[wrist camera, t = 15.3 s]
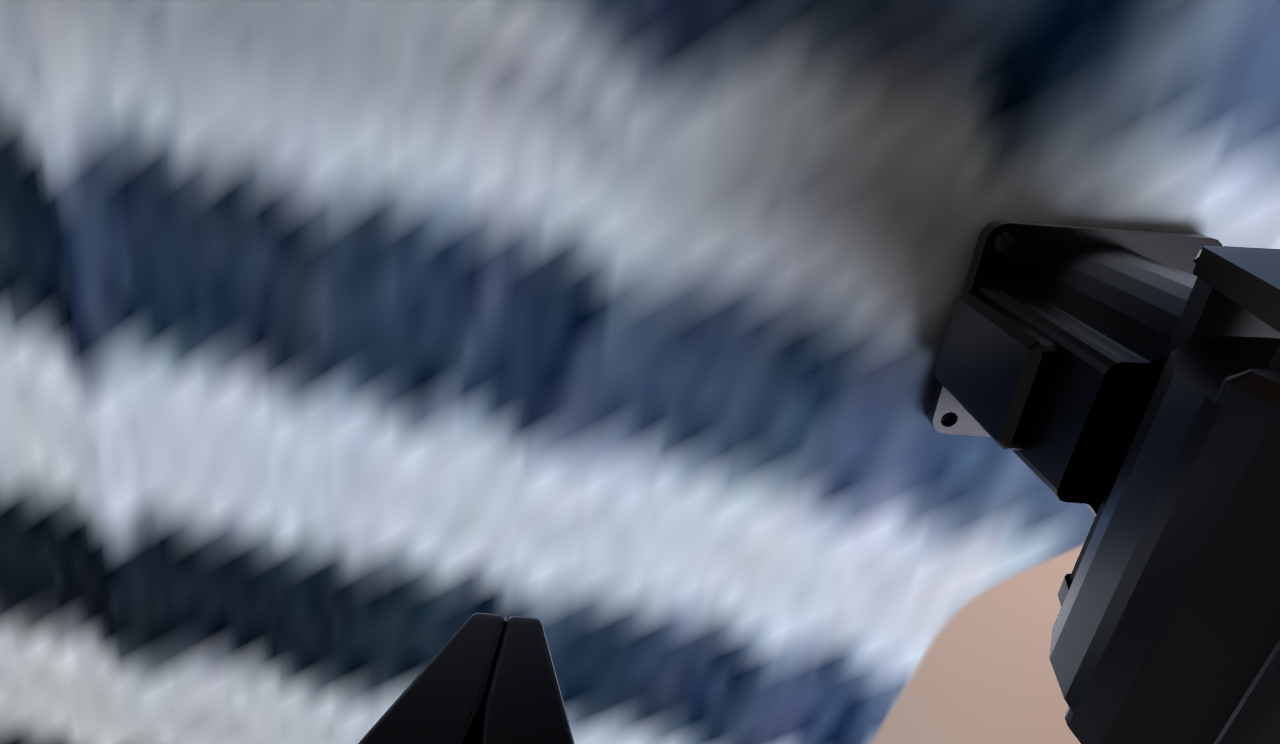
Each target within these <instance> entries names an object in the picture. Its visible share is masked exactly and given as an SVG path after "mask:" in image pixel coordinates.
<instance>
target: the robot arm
mask: <svg viewBox="0 0 1280 744" xmlns="http://www.w3.org/2000/svg"><path fill="white" fill-rule="evenodd" d="M1005 232H1006V234H1007V237H1006V240H1005V242H1004V244H1002V245H1001V246H999V247H995V240H996V238H997V236H999V235H1000V234H1002V233H1005ZM1200 249H1202V251H1201V254H1200V256H1199V258H1197V259H1196V260H1194V255H1195V254H1196V252H1197V251H1198V250H1200ZM1193 260H1194V261H1193ZM934 375H935V377H936V378H937V379H938V380H937V383H936V387H935V390H934V393H933V397H932V400H931V404H930V407H929V411H928V420H929V422H930V423H931V425H932V426H933V427H934V428H935V429H936V430H937V431H938V432H940V433H944V434H956V435H971V436H986V437H991V438H992V439H993V440H994V441H995V442H996V443H997V444H998V445H999V446H1000V447H1001V448H1003V449H1006V450H1012V451H1013V452H1014V453H1015V454H1016V455H1017V456H1018V457H1019V458H1020V459H1021V460H1022V461H1023V462H1024V463H1025V464H1026V465H1027V466H1028V467H1029V468H1030V469H1031V470H1032V471H1033V472H1034V474H1035V475H1036V476H1037V477H1038V478H1039V479H1040V480H1041V481H1042V482H1043V483H1044V484H1045V485H1046V486H1047V487H1048V488H1049V489H1050V490H1051V491H1052V492H1053V493H1054V494H1055V495H1056V496H1057V498H1058V499H1059V500H1061V501H1064V502H1072V503H1083V504H1084V505H1085V506H1086V507H1087V508H1088V509H1089V510H1090V511H1091V512H1092V513H1093V514H1094V515H1095V516H1096V517H1095V519H1094V522H1093V524H1092V526H1091V529H1090V531H1089V534H1088V536H1087V538H1086V541H1085V543H1084V545H1083V548H1082V550H1081V552H1080V555H1079V557H1078V559H1077V562H1076V564H1075V567H1074V569H1073V571H1072V574H1067V575H1066V576H1065V577H1064V580H1063V582H1062V585H1061V587H1060V589H1059V592H1058V597H1059V600H1060V603H1061V610H1060V612H1059V615H1058V617H1057V619H1056V622H1055V624H1054V626H1053V630H1052V640H1051V650H1050V661H1051V664H1052V666H1053V669H1054V671H1055V674H1056V677H1057V680H1058V682H1059V685H1060V688H1061V691H1062V693H1063V695H1064V699H1065V700H1066V702H1067V704H1068V705H1069V707H1068V709H1067V712H1066V715H1065V720H1066V723H1067V725H1068V727H1069V728H1070V730H1071V731H1072V732H1073V733H1074V735H1075V736H1076V737H1077V739H1078V740H1079V741H1080V743H1081V744H1280V249H1263V248H1245V247H1226V246H1222V244H1221V243H1220V242H1219V241H1218V240H1216V239H1213V238H1209V237H1206V236H1203V235H1197V234H1183V233H1170V232H1156V231H1143V230H1129V229H1116V228H1102V227H1089V226H1076V225H1062V224H1049V223H1035V222H1022V221H1008V220H999V221H994V222H992V223H990V224H988V225H987V226H986V227H985V228H984V229H983V230H982V232H981V234H980V236H979V239H978V243H977V246H976V250H975V253H974V257H973V260H972V263H971V267H970V270H969V274H968V277H967V280H966V284H965V287H964V291H963V292H962V293H961V294H960V295H959V296H958V297H957V298H956V299H955V302H954V306H953V309H952V313H951V316H950V320H949V323H948V327H947V330H946V333H945V337H944V340H943V344H942V347H941V351H940V354H939V358H938V361H937V365H936V368H935V372H934ZM949 412H952V415H951V416H950V418H948V419H947V420H943V421H941V418H942V416H943V415H945V414H946V413H949ZM358 744H574V740H573V736H572V732H571V729H570V725H569V721H568V717H567V714H566V710H565V706H564V702H563V699H562V695H561V691H560V688H559V684H558V680H557V676H556V673H555V669H554V665H553V661H552V658H551V654H550V650H549V647H548V643H547V639H546V635H545V632H544V628H543V624H542V622H541V621H540V620H539V619H537V618H530V617H519V616H511V617H509V619H508V620H507V619H506V617H504V616H503V615H498V614H487V613H475V614H473V615H472V616H471V617H470V618H469V619H468V620H467V621H466V622H465V623H464V624H463V625H462V626H461V628H460V629H459V630H458V631H457V632H456V633H455V634H454V636H453V637H452V638H451V639H450V640H449V641H448V642H447V644H446V645H445V646H444V647H443V648H442V649H441V650H440V651H439V653H438V654H437V655H436V656H435V657H434V658H433V659H432V661H431V662H430V663H429V664H428V665H427V666H426V667H425V668H424V670H423V671H422V672H421V673H420V674H419V675H418V676H417V678H416V679H415V680H414V681H413V682H412V683H411V684H410V685H409V687H408V688H407V689H406V690H405V691H404V692H403V693H402V695H401V696H400V697H399V698H398V699H397V700H396V701H395V702H394V704H393V705H392V706H391V707H390V708H389V709H388V710H387V712H386V713H385V714H384V715H383V716H382V717H381V718H380V719H379V721H378V722H377V723H376V724H375V725H374V726H373V727H372V729H371V730H370V731H369V732H368V733H367V734H366V735H365V736H364V738H363V739H362V740H361V741H360V742H359V743H358Z"/></svg>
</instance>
